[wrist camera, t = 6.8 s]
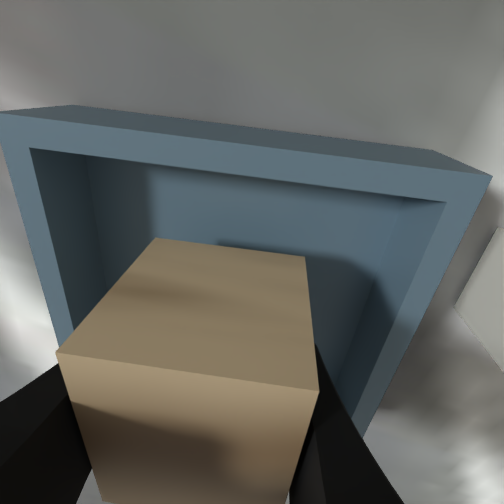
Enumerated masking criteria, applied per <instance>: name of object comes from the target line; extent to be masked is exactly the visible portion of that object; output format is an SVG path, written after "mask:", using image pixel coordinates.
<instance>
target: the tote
mask: <svg viewBox="0 0 504 504" xmlns="http://www.w3.org/2000/svg"><path fill="white" fill-rule="evenodd" d="M0 143H1V146H2V150H3V153H4V157H5V160H6V164H7V167H8V170H9V174H10V177H11V181H12V184H13V188H14V191H15V195H16V198H17V202H18V205H19V209H20V212H21V216H22V219H23V223H24V226H25V230H26V233H27V237H28V240H29V244H30V247H31V251H32V254H33V258H34V261H35V265H36V268H37V272H38V275H39V279H40V282H41V285H42V289H43V292H44V296H45V299H46V303H47V306H48V310H49V313H50V317H51V320H52V324H53V327H54V331H55V334H56V338H57V341H58V345H59V347H60V346H61V345H62V344H63V343H64V342H65V341H66V339H67V338H68V337H69V336H70V335H71V334H72V333H73V331H74V330H75V329H76V328H77V327H78V326H79V325H80V323H81V322H82V321H83V320H84V319H85V318H86V317H87V315H88V314H89V313H90V312H91V311H92V310H93V308H94V307H95V306H96V305H97V304H98V303H99V302H100V300H101V299H102V298H103V297H104V296H105V295H106V294H107V292H108V291H109V290H110V289H111V288H112V287H113V286H114V284H115V283H116V282H117V281H118V280H119V279H120V278H121V276H122V275H123V274H124V273H125V272H126V271H127V269H128V268H129V267H130V266H131V265H132V264H133V263H134V261H135V260H136V259H137V258H138V257H139V256H140V255H141V253H142V252H143V251H144V250H145V249H146V248H147V247H148V245H149V244H150V243H151V242H152V241H153V240H154V239H155V238H163V239H171V240H178V241H186V242H194V243H202V244H210V245H217V246H225V247H233V248H241V249H249V250H256V251H264V252H272V253H280V254H288V255H295V256H303V257H305V262H306V271H307V281H308V290H309V300H310V309H311V318H312V328H313V337H314V343H315V344H316V345H317V347H318V349H319V352H320V354H321V357H322V359H323V362H324V364H325V366H326V369H327V371H328V373H329V375H330V378H331V380H332V382H333V384H334V386H335V388H336V390H337V392H338V394H339V396H340V398H341V400H342V402H343V404H344V406H345V408H346V410H347V412H348V414H349V416H350V417H351V419H352V421H353V423H354V425H355V427H356V428H357V430H358V432H359V434H360V435H361V437H362V438H363V436H364V434H365V432H366V430H367V428H368V426H369V424H370V422H371V420H372V418H373V416H374V414H375V412H376V410H377V408H378V406H379V404H380V402H381V400H382V398H383V396H384V394H385V392H386V390H387V388H388V386H389V384H390V382H391V380H392V378H393V376H394V374H395V372H396V370H397V368H398V366H399V364H400V362H401V360H402V358H403V356H404V354H405V352H406V350H407V348H408V346H409V344H410V342H411V340H412V338H413V336H414V334H415V332H416V330H417V328H418V326H419V324H420V322H421V320H422V318H423V316H424V314H425V312H426V309H427V307H428V305H429V303H430V301H431V299H432V297H433V295H434V293H435V291H436V289H437V287H438V285H439V283H440V281H441V279H442V277H443V275H444V273H445V271H446V269H447V267H448V265H449V263H450V261H451V259H452V257H453V255H454V253H455V251H456V249H457V247H458V245H459V243H460V241H461V239H462V237H463V235H464V233H465V231H466V229H467V227H468V225H469V223H470V221H471V219H472V217H473V215H474V213H475V211H476V209H477V207H478V205H479V203H480V201H481V199H482V197H483V195H484V193H485V191H486V189H487V187H488V185H489V183H490V181H491V179H492V177H493V176H492V175H489V174H487V173H485V172H482V171H480V170H478V169H475V168H473V167H471V166H468V165H466V164H464V163H462V162H459V161H457V160H455V159H452V158H450V157H448V156H445V155H443V154H441V153H438V152H436V151H434V150H428V149H420V148H412V147H404V146H396V145H388V144H380V143H372V142H364V141H356V140H348V139H340V138H332V137H324V136H316V135H308V134H300V133H292V132H284V131H277V130H269V129H261V128H253V127H245V126H237V125H229V124H221V123H213V122H205V121H197V120H189V119H181V118H173V117H165V116H157V115H149V114H141V113H133V112H125V111H118V110H110V109H102V108H94V107H86V106H78V105H66V106H55V107H43V108H32V109H21V110H9V111H0Z"/></svg>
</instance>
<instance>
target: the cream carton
mask: <svg viewBox="0 0 504 504" xmlns="http://www.w3.org/2000/svg"><path fill="white" fill-rule="evenodd" d="M453 308H454V309H455V310H456V312H457V313H458V314H459V315H460V317H461V318H462V319H463V321H464V322H465V323H466V325H467V326H468V327H469V329H470V330H471V331H472V332H473V334H474V335H475V336H476V338H477V339H478V340H479V342H480V343H481V344H482V346H483V347H484V348H485V349H486V351H487V352H488V353H489V355H490V356H491V357H492V359H493V360H494V361H495V363H496V364H497V365H498V367H499V368H500V369H501V370H502V372H503V373H504V228H498V227H497V229H496V231H495V233H494V235H493V236H492V238H491V240H490V242H489V244H488V245H487V247H486V249H485V251H484V253H483V255H482V256H481V258H480V260H479V262H478V264H477V265H476V267H475V269H474V271H473V273H472V275H471V276H470V278H469V280H468V282H467V284H466V285H465V287H464V289H463V291H462V293H461V295H460V296H459V298H458V300H457V302H456V304H455V305H454V307H453Z"/></svg>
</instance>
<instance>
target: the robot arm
mask: <svg viewBox="0 0 504 504" xmlns="http://www.w3.org/2000/svg"><path fill="white" fill-rule="evenodd" d="M314 347H315V356H316V366H317V375H318V384H319V394H318V397H317V400H316V404H315V407H314V410H313V413H312V417H311V420H310V423H309V427H308V430H307V433H306V436H305V440H304V443H303V446H302V449H301V453H300V456H299V459H298V462H297V466H296V469H295V472H294V476H293V479H292V482H291V485H290V489H289V499H290V504H404V503H403V501H402V500H401V498H400V497H399V495H398V494H397V492H396V491H395V489H394V488H393V487H392V485H391V484H390V482H389V481H388V479H387V477H386V476H385V474H384V473H383V471H382V470H381V468H380V467H379V465H378V464H377V462H376V460H375V459H374V457H373V456H372V454H371V452H370V451H369V449H368V447H367V446H366V444H365V442H364V440H363V439H362V437H361V435H360V434H359V432H358V430H357V428H356V427H355V425H354V423H353V421H352V419H351V417H350V416H349V414H348V412H347V410H346V408H345V406H344V404H343V402H342V400H341V398H340V396H339V394H338V392H337V390H336V388H335V386H334V384H333V382H332V380H331V378H330V375H329V373H328V371H327V369H326V366H325V364H324V362H323V359H322V357H321V354H320V352H319V349H318V347H317V345H316V344H315V343H314ZM91 469H92V466H91V463H90V460H89V457H88V454H87V450H86V447H85V444H84V441H83V438H82V435H81V432H80V429H79V425H78V422H77V419H76V416H75V413H74V410H73V407H72V403H71V400H70V397H69V394H68V391H67V388H66V385H65V382H64V378H63V375H62V372H61V369H60V366H59V363H58V364H56V365H55V366H54V367H52V368H51V369H49V370H48V371H46V372H45V373H43V374H42V375H41V376H39V377H38V378H36V379H35V380H33V381H32V382H30V383H29V384H27V385H26V386H25V387H23V388H22V389H20V390H18V391H17V392H15V393H14V394H12V395H11V396H9V397H8V398H6V399H4V400H3V401H1V402H0V504H76V503H77V500H78V498H79V496H80V493H81V491H82V489H83V486H84V484H85V482H86V480H87V477H88V475H89V473H90V471H91Z"/></svg>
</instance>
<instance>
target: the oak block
mask: <svg viewBox="0 0 504 504" xmlns="http://www.w3.org/2000/svg"><path fill="white" fill-rule="evenodd" d="M55 353H56V356H57V360H58V363H59V366H60V369H61V372H62V375H63V378H64V382H65V385H66V388H67V391H68V394H69V397H70V400H71V403H72V407H73V410H74V413H75V416H76V419H77V422H78V425H79V429H80V432H81V435H82V438H83V441H84V444H85V447H86V450H87V454H88V457H89V460H90V463H91V466H92V469H93V472H94V476H95V479H96V482H97V485H98V488H99V491H100V494H101V498H102V501H105V502H111V503H117V504H285V502H286V498H287V495H288V492H289V489H290V485H291V482H292V479H293V476H294V472H295V469H296V466H297V462H298V459H299V456H300V453H301V449H302V446H303V443H304V440H305V436H306V433H307V430H308V427H309V423H310V420H311V417H312V413H313V410H314V407H315V404H316V400H317V397H318V394H319V384H318V375H317V366H316V356H315V347H314V337H313V328H312V318H311V309H310V300H309V290H308V281H307V271H306V262H305V257H303V256H295V255H288V254H280V253H272V252H264V251H256V250H249V249H241V248H233V247H225V246H217V245H210V244H202V243H194V242H186V241H178V240H171V239H163V238H155V239H154V240H153V241H152V242H151V243H150V244H149V245H148V247H147V248H146V249H145V250H144V251H143V252H142V253H141V255H140V256H139V257H138V258H137V259H136V260H135V261H134V263H133V264H132V265H131V266H130V267H129V268H128V269H127V271H126V272H125V273H124V274H123V275H122V276H121V278H120V279H119V280H118V281H117V282H116V283H115V284H114V286H113V287H112V288H111V289H110V290H109V291H108V292H107V294H106V295H105V296H104V297H103V298H102V299H101V300H100V302H99V303H98V304H97V305H96V306H95V307H94V308H93V310H92V311H91V312H90V313H89V314H88V315H87V317H86V318H85V319H84V320H83V321H82V322H81V323H80V325H79V326H78V327H77V328H76V329H75V330H74V331H73V333H72V334H71V335H70V336H69V337H68V338H67V339H66V341H65V342H64V343H63V344H62V345H61V346H60V347H59V349H58V350H57V351H56V352H55Z"/></svg>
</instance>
